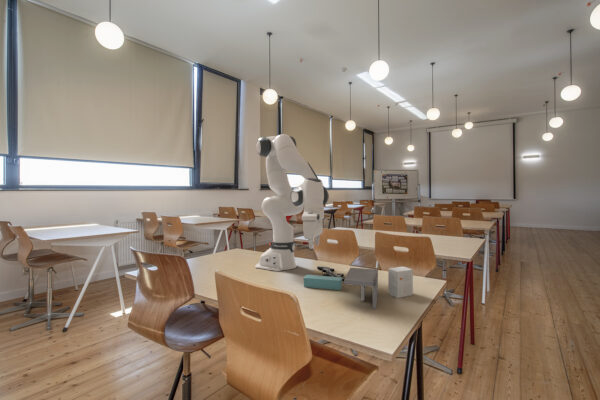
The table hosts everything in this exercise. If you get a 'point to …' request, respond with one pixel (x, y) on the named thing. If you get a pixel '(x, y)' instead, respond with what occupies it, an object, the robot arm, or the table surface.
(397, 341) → the table surface
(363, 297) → the overhang shelf
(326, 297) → the table surface
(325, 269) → the black toy gun
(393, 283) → the small box
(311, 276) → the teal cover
